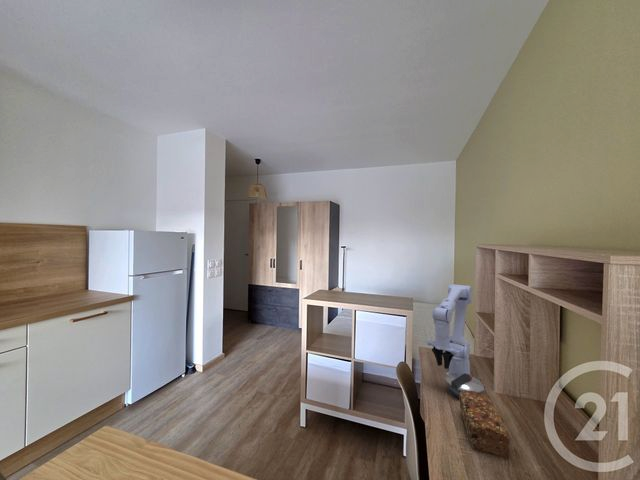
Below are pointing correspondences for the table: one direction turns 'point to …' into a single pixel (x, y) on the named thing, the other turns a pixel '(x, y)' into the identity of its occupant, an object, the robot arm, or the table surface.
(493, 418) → the bread
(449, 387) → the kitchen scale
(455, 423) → the table surface
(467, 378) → the lid
